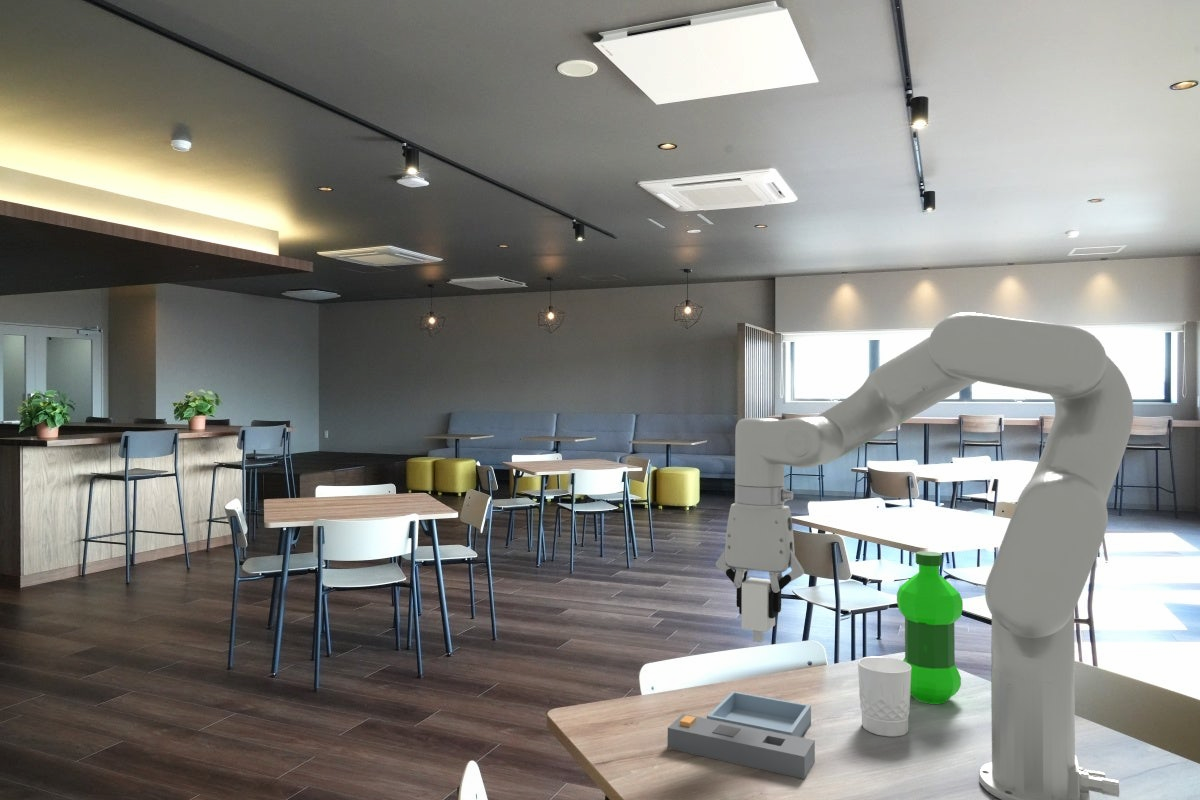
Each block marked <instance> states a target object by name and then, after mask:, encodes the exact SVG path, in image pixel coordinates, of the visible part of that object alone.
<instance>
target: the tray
mask: <svg viewBox="0 0 1200 800" xmlns="http://www.w3.org/2000/svg"><path fill="white" fill-rule="evenodd" d="M706 719H711V720H716V721H721V722H726V723H731V724H736V725H741V726H746V727H751V728H756V729H762V730H767V731H772V732H777V733H782V734H787V735H792V736H797V737H802V738H804V736H805V734H806V733H807V731H808V729H809V728H810V727H811V725H812V705H811V704H807V703H801V702H797V701H789V700H785V699H784V700H783V699H779V698H773V697H769V696H768V697H767V696H761V695H757V694H751V693H750V694H749V693H745V692H740V691H734V690H732V691H730V692H729V693H728V694H727V696H725V697H724V698H723V699H722V700H721V701H720V702H719V703H718V704H717V705H716V706H715V707H714V708H713V709H712V710H711V711H710V712H709V713H708V714H707V715H706Z"/></svg>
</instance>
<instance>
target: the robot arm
mask: <svg viewBox="0 0 1200 800" xmlns="http://www.w3.org/2000/svg"><path fill="white" fill-rule="evenodd" d="M1106 353H1107V352H1106V350H1105V347H1104V346H1103V343H1101V341H1100V340H1099V339H1098V338H1097V337H1096V336H1095V335H1094V334H1092V333H1090V332H1089V331H1087V330H1085V329H1083V328H1081V327H1077V326H1073V325H1067V324H1066V325H1065V324H1059V323H1051V322H1045V321H1044V322H1042V321H1036V320H1027V319H1020V318H1019V319H1018V318H1010V317H1003V316H997V315H991V314H983V313H976V312H969V311H968V312H966V311H965V312H958V313H955V314H951V315H949V316H947V317H945V318H944V319H942V320H940V321H939V323H937V325H935V327H934V328H933V330H932V331H931V334H930V335H929V337H927V338H925V339H924V340H922V341H921V342H919V343H917V344H916V345H914V346H912V347H910V348H909V349H907V350H906V351H904V352H902V353H900V354H899V355H896V356H895V357H893V358H891V359H890V360H888V361H887V362H885V363H883V364H882V365H879V366H878V367H876V368H875V369H874V370H873V371H872V372H871V373H870V374H869V375H868V377H867V378H866V379H865V381H864V383H863V384H862V385H861V386H860V387H859V388H858V389H857V390H856V391H855V392H853V393H852V394H851V395H850V396H848V397H846V398H845V399H843V400H842V401H841V402H838V403H837V404H835V405H834V406H832V407H831V408H828V409H826V410H825V411H823V412H821V413H819V414H818V415H816V416H807V417H806V416H803V417H795V418H786V419H777V418H773V417H772V418H771V417H767V418H766V417H746V418H741V419H739V420H738V421H737V423H736V425H735V430H734V431H735V433H734V435H735V436H734V437H735V438H734V439H735V440H734V442H735V443H734V444H735V450H734V451H735V453H734V456H735V460H734V461H735V462H734V472H735V473H734V475H735V476H734V484H735V485H734V503H732V504H730V508H729V513H728V519H727V524H726V525H727V526H726V533H725V547H724V550H723V551H722V552H721V554H720V556H719V557H718V558H717V560H716V562H715V566H716V568H718V569H719V570H720V571H721V572H722V573H723V574H725V575H726V576H727V578H728V579H729V580H730V581H731V582H732V583H733V586H734V587H735V588H736V607H737V608H739V609H738V613H739V614H740V615H742V582H744V581H746V580H747V579H748V575H749V571H756V572H768V576H769V579H770V582H771V592H769V618H774V617H775V618H776V617H778V615H779V613H781V611H782V590H783V589H784V588H785V587H786V586H788V585H789V584H790V583H792V582H793V581H795V580H797V579H798V578H800V577H802V576H804V574H805V569H804V568H803V566H802V564H801V563H800V562H799V559H798V558H797V556H796V555H795V554H796V553H795V538H794V527H793V519H792V513H791V512H792V511H791V508H790V506H789V505H785V503H786V502H787V501H792V500H794V491H792V490H791V491H790V490H787V488H786V485H785V466H789V467H794V468H802V469H805V468H812V467H817V466H821V465H826V464H829V463H831V462H834V461H836V460H838V459H840V458H841V457H843V456H846V454H849V453H850V452H853V451H854V450H856V449H858V448H859V447H861V446H863V445H865V444H867V443H868V442H870V441H872V440H873V439H875V438H877V437H879V436H881V435H882V434H884V433H885V432H887V431H889V430H892V429H894V428H896V427H899V426H901V425H902V424H903V423H905V422H907V421H908V420H910V419H912V418H913V417H915V416H917V415H919V414H921V413H922V412H924V411H926V410H928V409H929V408H931V407H932V406H934V405H936V404H938V403H941V402H942V401H944V400H945V399H947V398H950V396H952V395H955V394H956V393H959V392H961V391H963V390H964V389H966V388H968V387H970V386H972V385H973V384H975V383H977V382H980V383H985V384H991V385H997V386H1002V387H1008V388H1013V389H1020V390H1024V391H1031V392H1035V393H1036V392H1037V393H1040V394H1046V395H1049V396H1050V397H1052V399H1053V402H1054V410H1055V411H1054V413H1055V414H1054V419H1053V421H1052V423H1051V427H1050V429H1049V432H1048V434H1047V437H1046V441H1045V444H1044V447H1043V450H1042V452H1041V455H1040V457H1039V460H1038V462H1037V465H1036V467H1035V469H1034V472H1033V474H1032V476H1031V479H1030V480H1029V482H1028V483H1027V484H1026V485H1025V487H1024V488H1023V489H1022V491H1021V492H1020V495H1019V497H1018V499H1017V501H1016V503H1015V504H1016V505H1015V507H1014V510H1013V511H1012V515H1011V517H1010V520H1009V523H1008V525H1007V527H1006V530H1005V533H1004V535H1003V536H1004V537H1003V539H1002V541H1001V544H1000V546H999V549H998V552H997V554H996V556H995V559H994V562H993V565H992V567H991V570H990V571H989V575H988V577H987V580H986V582H985V588H984V592H985V593H984V595H985V596H984V597H985V602H986V605H987V608H988V610H989V612H990V615H991V635H990V636H991V647H990V648H991V658H990V659H991V664H990V665H991V666H990V671H991V672H990V673H991V674H990V676H991V679H990V682H991V689H990V690H991V692H990V695H991V698H990V699H991V704H990V706H991V762H987V763H984V764H983V765H982V766H981V767H980V768H979V770H978V779H979V783H980V784H981V786H982V788H983V789H985V790H986V791H987V792H988V793H989V794H991V795H993V796H994V797H995V798H997V799H999V800H1091V797H1090V792H1095V793H1100V794H1102V795H1106V796H1110V797H1115V798H1120V783H1119V780H1117V779H1111V778H1106V773H1105V772H1103V771H1098V770H1090V769H1084V766H1082V765H1081V766H1080V765H1079V762H1078V757H1077V756H1078V755H1076V733H1075V732H1076V730H1075V728H1076V727H1075V726H1076V725H1075V724H1076V723H1075V722H1076V721H1075V720H1076V719H1075V717H1076V715H1075V714H1076V712H1075V711H1076V709H1075V708H1076V707H1075V705H1076V703H1075V701H1076V700H1075V677H1076V676H1075V673H1076V670H1075V667H1076V666H1075V665H1076V664H1075V659H1076V657H1075V609H1076V607H1077V605H1078V602H1079V600H1080V597H1081V595H1082V592H1083V590H1084V588H1085V585H1086V583H1087V580H1088V578H1089V576H1090V574H1091V573H1090V572H1091V570H1092V569H1093V566H1094V562H1095V560H1096V559H1097V555H1098V554H1099V552H1100V551H1099V550H1100V548H1101V546H1102V544H1103V540H1104V537H1105V534H1106V531H1107V527H1108V521H1109V517H1108V516H1109V515H1108V513H1109V512H1108V508H1107V504H1108V500H1109V496H1110V495H1111V491H1112V488H1113V486H1114V483H1115V480H1116V478H1117V474H1118V472H1119V470H1120V467H1121V463H1122V461H1123V457H1124V454H1125V452H1126V449H1127V446H1128V443H1129V439H1130V435H1131V432H1132V429H1133V423H1134V413H1135V412H1134V402H1133V397H1132V392H1131V390H1130V387H1129V384H1128V382H1127V380H1126V377H1125V375H1124V374H1123V373H1122V371H1121V370H1120V368H1119V367H1118V366H1117V365H1116V363H1115V362H1114V361H1112V359H1111V358H1110V357H1109V356H1108V355H1107V354H1106ZM789 568H790V569H791V571H790V572H788V573H786V574H785V575H784V576H783V573H784V572H786V571H787V570H788V569H789Z"/></svg>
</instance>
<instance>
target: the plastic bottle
mask: <svg viewBox="0 0 1200 800" xmlns="http://www.w3.org/2000/svg"><path fill="white" fill-rule="evenodd" d="M915 564H917V565H918V572H917V573H916V574H914V575H913V576H912V577H910V578H909V579H907V580H906V581H905V582H904V583H903V584H901V585H900V586H899V588H898V590H897V593H896V603H897V608H898V610H899V611H900V612H901V614H902V615H903V617H904V658H903V660H902V661H904V662H906V663H908V664H910V665H911V667H912V669H911V694H910V696H912V697H913V698H914V697H915V698H914V699H915V700H916V699H917V700H916V701H918V700H919V702H921V701H922V702H921V703H923V702H926V703H925V704H929V703H931V704H930V705H942V704H941V703H943V704H945V703H946V702H947V700H950V698H952V697H953V696H956V694H957V693H958V692H959V690H960V688H961V686H962V677H961V675H960V672H959V670H958V668H957V665H955V664H956V661H955V659H956V658H955V656H956V655H955V646H956V645H955V622H957V621H958V620H959V619H960V618H961V617H962V614H963V609H964V608H963V607H964V605H963V599H962V596H961V594H960V592H959V591H958V590H957V589H956V588H955V587H954V586H953V585H952V584H951V583H950V582H949V581H947V580H946V579H945V577H943V576H942V575H940V566H943V554H942V553H940V552H935V551H926V550H925V551H924V550H923V551H917V552H915ZM945 701H946V702H945Z"/></svg>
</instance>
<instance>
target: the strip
mask: <svg viewBox="0 0 1200 800" xmlns="http://www.w3.org/2000/svg"><path fill="white" fill-rule="evenodd" d="M815 744H816V743H815V739H811V738H806V737H797V736H792V735H787V734H782V733H777V732H772V731H767V730H762V729H756V728H751V727H746V726H741V725H736V724H731V723H726V722H721V721H716V720H711V719H707V717H701V716H694V715H691V714H686V713H682V714H681V715H680V716H679V717H677V719H676V720H674V721H673V722H672V723H671V724H670V725H669V726H668V727H667V749H668V748H671V749H670V750H673V749H675V750H674V751H678V752H681V753H682V752H683V753H686V754H687V753H688V754H692V755H695V756H700V757H705V758H709V759H713V760H718V761H721V762H727V763H732V764H736V765H740V766H745V767H747V768H748V767H749V768H753V769H759V770H764V771H766V772H771V773H776V774H781V775H784V776H789V777H793V778H797V779H803V780H805V779H807V778H806V777H807V776H808V775H809V773H810V771H811V769H812V767H813V765H814V764H815V762H816V755H815V754H816V753H815V750H816V745H815Z"/></svg>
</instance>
